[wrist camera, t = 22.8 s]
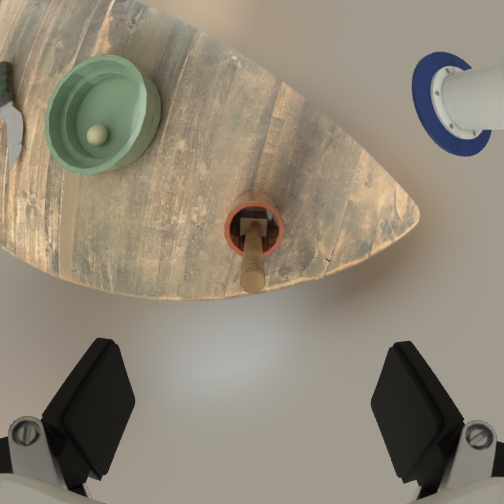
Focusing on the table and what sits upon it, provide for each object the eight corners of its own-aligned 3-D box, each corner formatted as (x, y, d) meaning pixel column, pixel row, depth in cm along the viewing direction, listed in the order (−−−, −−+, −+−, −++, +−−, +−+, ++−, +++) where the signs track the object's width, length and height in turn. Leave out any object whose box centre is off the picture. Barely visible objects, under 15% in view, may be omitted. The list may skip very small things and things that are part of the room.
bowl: (164, 58, 31) (150, 43, 25) (162, 166, 36) (146, 168, 30) (71, 78, 31) (49, 71, 25) (69, 176, 36) (45, 180, 30)
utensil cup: (277, 190, 37) (285, 201, 27) (275, 233, 39) (282, 259, 29) (232, 189, 37) (224, 200, 27) (232, 233, 39) (225, 258, 29)
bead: (103, 141, 35) (93, 153, 33) (90, 128, 33) (79, 139, 31) (115, 130, 33) (104, 142, 32) (101, 116, 31) (89, 127, 30)
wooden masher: (265, 211, 37) (277, 269, 18) (264, 226, 38) (274, 297, 19) (242, 209, 37) (229, 266, 18) (241, 225, 38) (228, 294, 19)
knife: (26, 157, 32) (2, 171, 31) (34, 161, 36) (11, 173, 34) (13, 50, 26) (-10, 63, 24) (19, 59, 29) (-2, 71, 28)
